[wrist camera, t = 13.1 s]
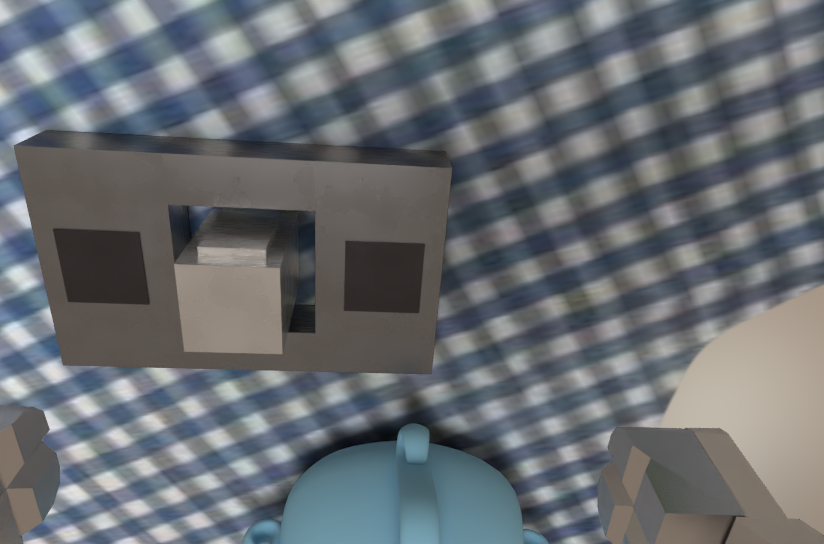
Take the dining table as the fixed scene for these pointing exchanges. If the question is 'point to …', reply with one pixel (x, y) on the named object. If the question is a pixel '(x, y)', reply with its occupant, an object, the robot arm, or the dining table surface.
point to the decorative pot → (399, 499)
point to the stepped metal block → (239, 281)
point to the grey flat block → (239, 188)
